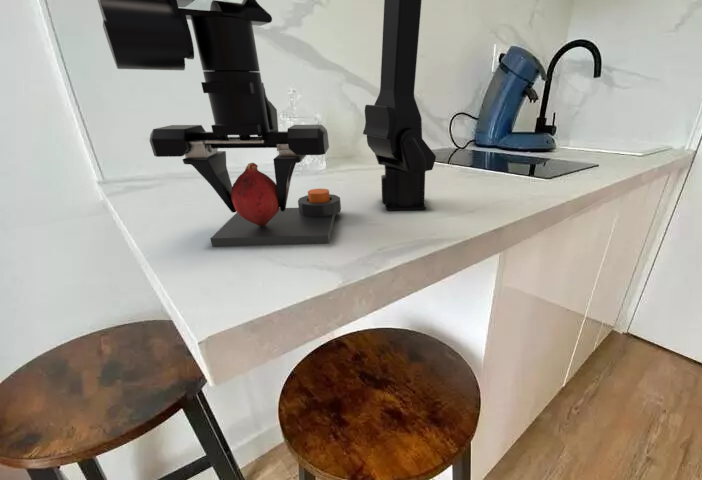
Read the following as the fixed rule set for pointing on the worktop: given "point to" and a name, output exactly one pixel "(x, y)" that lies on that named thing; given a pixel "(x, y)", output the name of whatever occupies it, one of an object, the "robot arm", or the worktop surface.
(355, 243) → the worktop surface
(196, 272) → the worktop surface
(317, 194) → the button
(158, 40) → the robot arm
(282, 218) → the scale
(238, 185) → the onion
